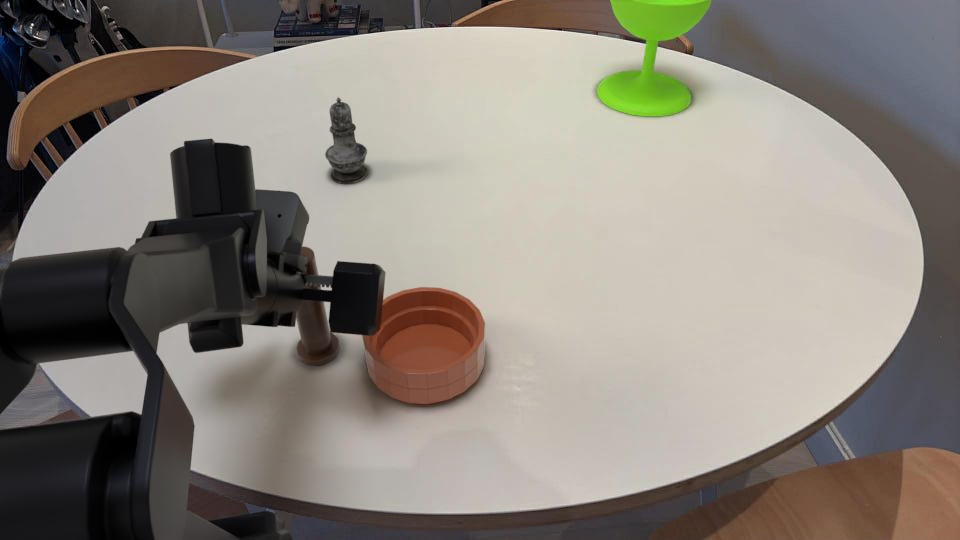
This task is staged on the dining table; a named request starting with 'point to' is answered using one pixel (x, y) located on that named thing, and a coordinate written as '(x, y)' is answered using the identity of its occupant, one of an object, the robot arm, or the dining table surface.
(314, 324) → the brown cylinder
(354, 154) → the grey chess piece
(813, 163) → the dining table surface
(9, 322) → the robot arm
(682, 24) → the wineglass
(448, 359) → the bowl
